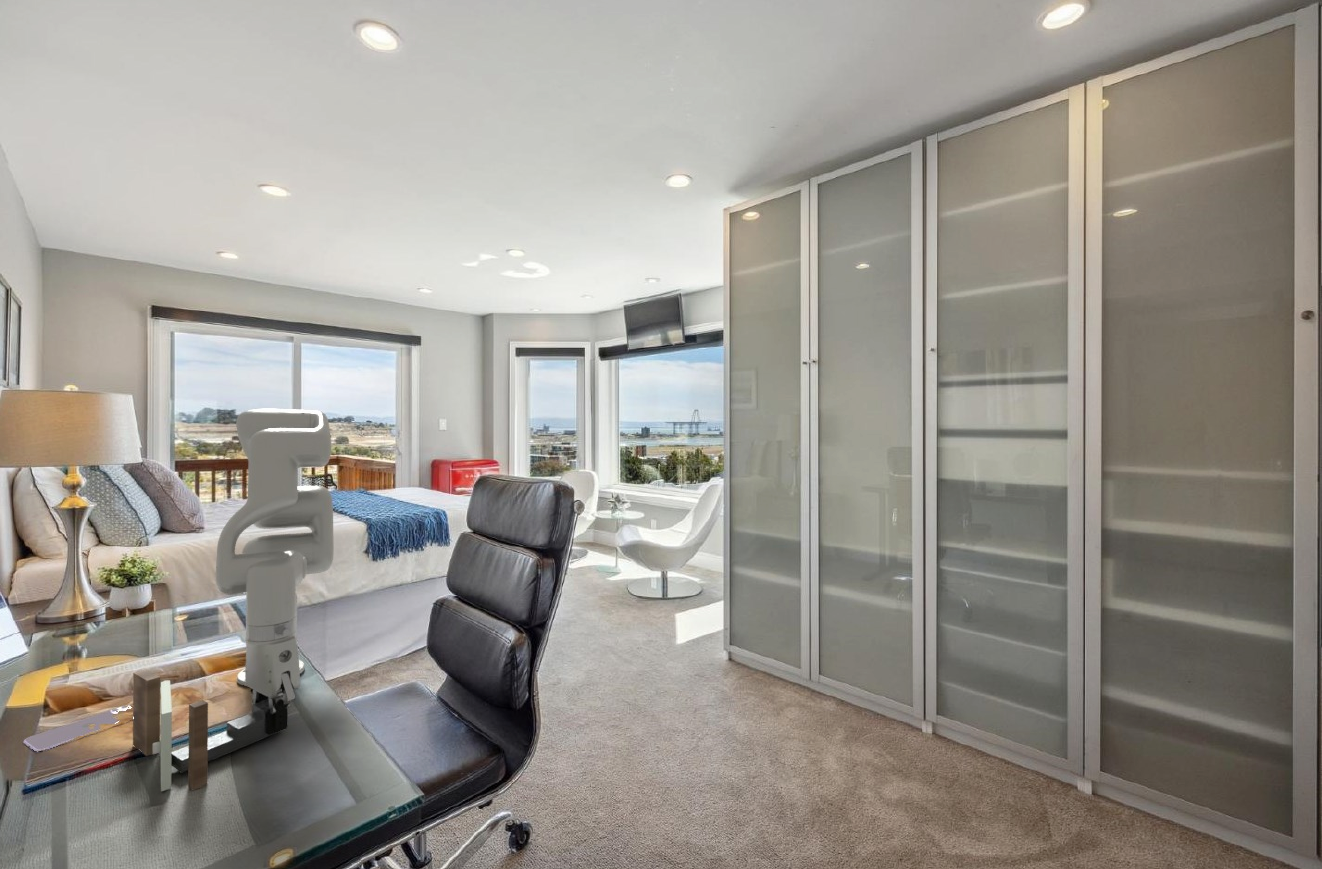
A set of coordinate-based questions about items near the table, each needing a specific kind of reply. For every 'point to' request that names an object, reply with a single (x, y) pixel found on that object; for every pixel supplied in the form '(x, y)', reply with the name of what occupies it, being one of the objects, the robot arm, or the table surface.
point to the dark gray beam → (231, 736)
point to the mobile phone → (71, 730)
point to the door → (165, 736)
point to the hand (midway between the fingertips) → (270, 726)
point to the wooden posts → (149, 725)
